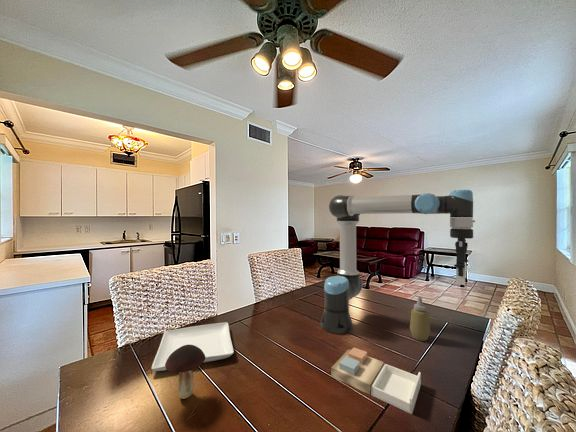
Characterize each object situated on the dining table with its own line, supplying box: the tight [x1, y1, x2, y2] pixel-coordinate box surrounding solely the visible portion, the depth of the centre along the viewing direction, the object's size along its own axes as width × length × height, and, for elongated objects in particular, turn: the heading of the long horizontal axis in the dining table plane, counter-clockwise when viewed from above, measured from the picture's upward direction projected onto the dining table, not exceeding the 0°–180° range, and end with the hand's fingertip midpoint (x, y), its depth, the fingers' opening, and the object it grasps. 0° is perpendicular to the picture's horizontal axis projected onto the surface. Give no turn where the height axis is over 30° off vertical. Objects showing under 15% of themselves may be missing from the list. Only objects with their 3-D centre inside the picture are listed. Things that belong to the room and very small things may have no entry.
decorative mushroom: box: [165, 345, 205, 400], centre depth 69 cm, size 11×11×15 cm
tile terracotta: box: [348, 347, 368, 364], centre depth 83 cm, size 5×5×2 cm
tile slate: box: [339, 356, 360, 375], centre depth 78 cm, size 5×5×2 cm
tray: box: [370, 363, 422, 415], centre depth 72 cm, size 11×14×4 cm
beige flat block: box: [330, 348, 385, 395], centre depth 80 cm, size 13×14×3 cm
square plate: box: [150, 321, 235, 372], centre depth 95 cm, size 27×27×4 cm
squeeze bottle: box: [409, 296, 431, 342], centre depth 103 cm, size 8×8×18 cm
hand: (461, 280), depth 94 cm, fingers open, 13 cm apart
